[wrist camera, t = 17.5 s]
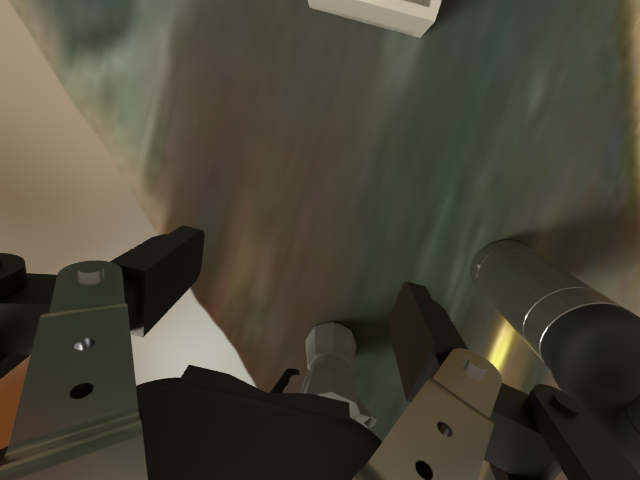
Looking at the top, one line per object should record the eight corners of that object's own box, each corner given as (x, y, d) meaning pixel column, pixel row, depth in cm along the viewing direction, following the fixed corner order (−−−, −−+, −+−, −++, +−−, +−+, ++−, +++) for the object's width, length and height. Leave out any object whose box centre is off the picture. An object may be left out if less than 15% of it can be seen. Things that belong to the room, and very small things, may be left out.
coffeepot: (371, 325, 52) (386, 420, 35) (363, 366, 55) (373, 471, 38) (284, 315, 52) (257, 404, 35) (281, 356, 55) (256, 456, 39)
